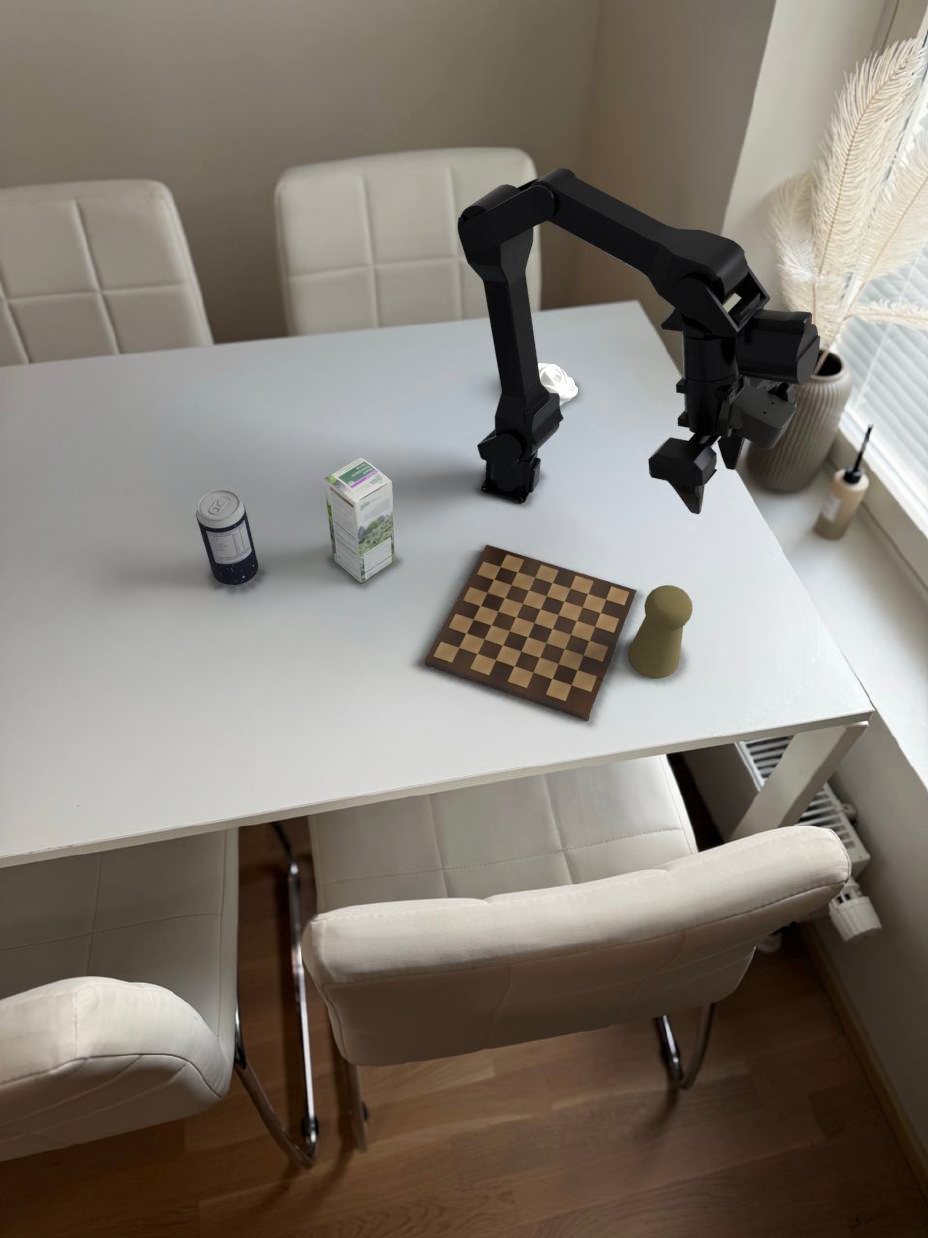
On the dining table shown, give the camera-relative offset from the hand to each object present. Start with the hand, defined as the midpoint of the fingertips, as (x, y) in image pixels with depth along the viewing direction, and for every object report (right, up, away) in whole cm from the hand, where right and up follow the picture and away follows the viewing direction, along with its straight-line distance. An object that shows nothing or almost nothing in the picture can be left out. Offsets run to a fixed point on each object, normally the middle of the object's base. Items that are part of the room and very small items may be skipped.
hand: (713, 490), depth 107 cm
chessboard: (-20, -16, +5) cm, 27 cm away
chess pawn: (-6, -20, +2) cm, 21 cm away
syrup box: (-41, -8, +11) cm, 44 cm away
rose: (-16, +19, +34) cm, 42 cm away
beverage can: (-57, -9, +10) cm, 59 cm away
